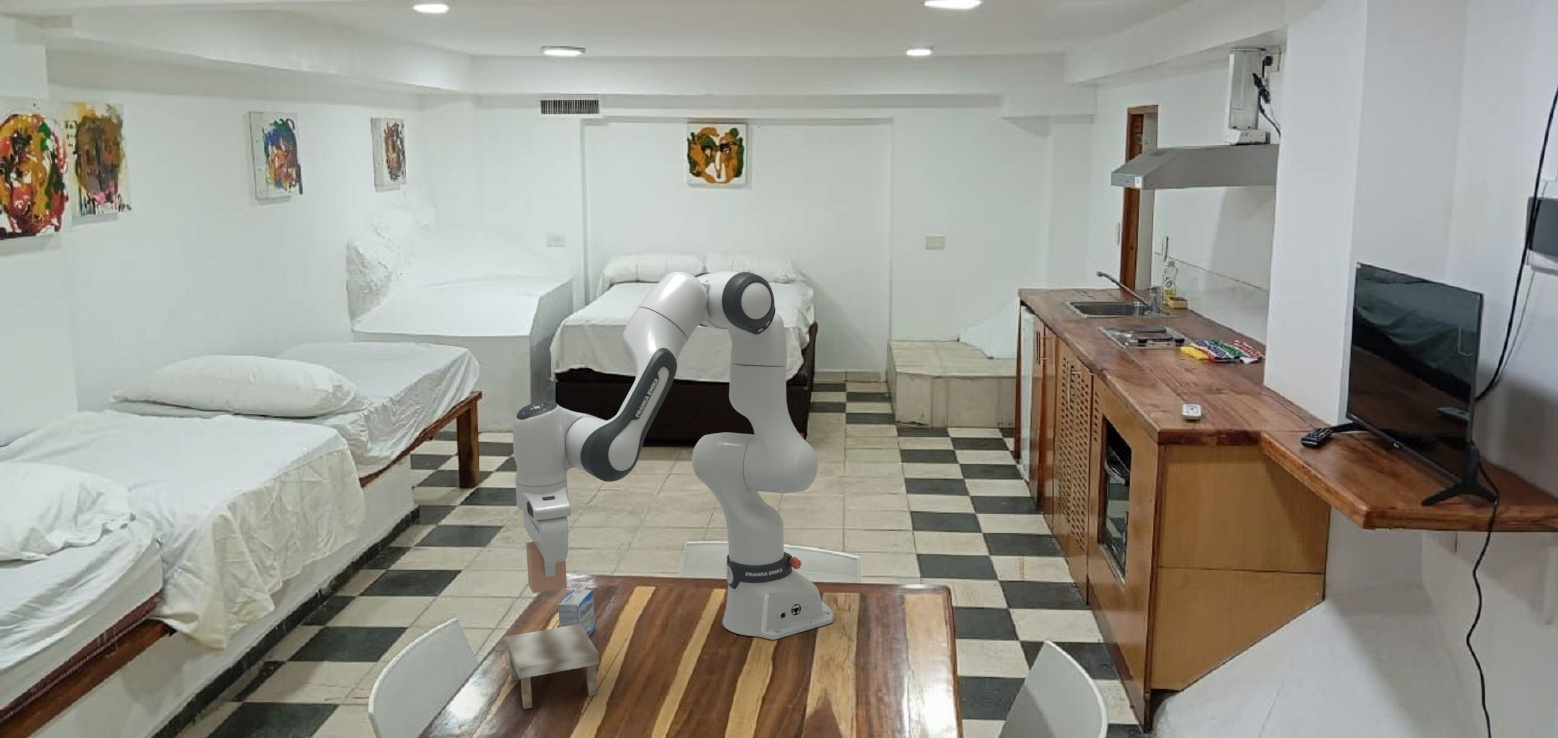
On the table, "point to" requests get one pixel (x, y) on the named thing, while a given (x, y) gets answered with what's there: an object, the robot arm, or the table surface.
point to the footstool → (551, 656)
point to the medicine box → (578, 610)
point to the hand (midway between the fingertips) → (546, 570)
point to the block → (536, 572)
